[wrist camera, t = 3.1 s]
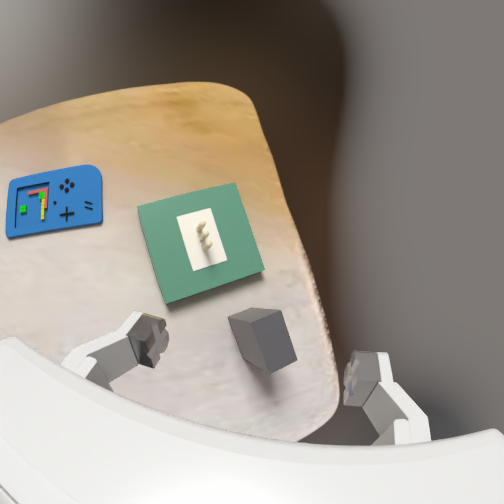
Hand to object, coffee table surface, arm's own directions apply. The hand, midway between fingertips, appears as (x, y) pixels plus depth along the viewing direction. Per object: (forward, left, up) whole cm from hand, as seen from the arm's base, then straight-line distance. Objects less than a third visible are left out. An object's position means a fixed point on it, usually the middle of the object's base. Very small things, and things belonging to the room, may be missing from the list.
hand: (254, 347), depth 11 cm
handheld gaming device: (-14, +19, -24) cm, 33 cm away
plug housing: (+6, -5, -23) cm, 24 cm away
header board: (+4, +8, -23) cm, 25 cm away
